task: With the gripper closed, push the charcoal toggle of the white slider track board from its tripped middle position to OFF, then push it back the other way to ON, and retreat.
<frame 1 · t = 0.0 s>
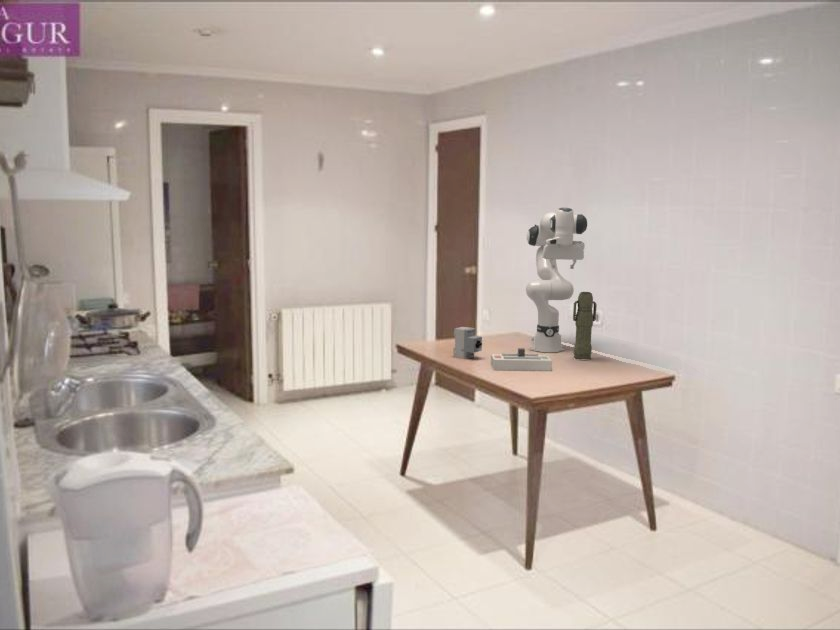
hand: (562, 268, 361), 48 cm above the table, tool pointing down, fingers open, 8 cm apart
circuit breaker: (468, 357, 376), on the table
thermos: (582, 358, 379), on the table
breaker toggle: (521, 352, 354), point 7 cm above the table, slide at 0.0 cm
white slider track board: (520, 367, 355), on the table
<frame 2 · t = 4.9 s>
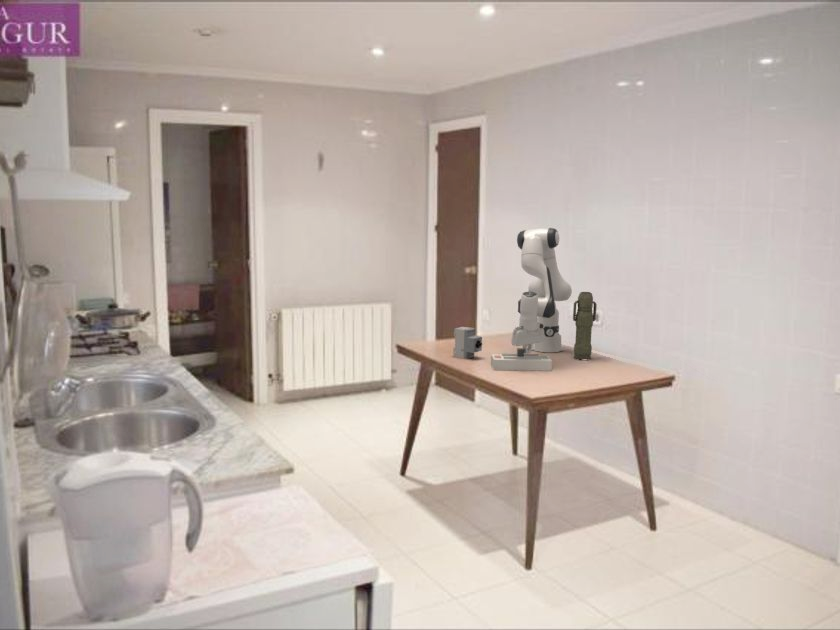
hand: (527, 353, 354), 7 cm above the table, tool pointing down, fingers closed
breaker toggle: (520, 352, 354), point 7 cm above the table, slide at -0.4 cm, touching gripper
everything else where it was.
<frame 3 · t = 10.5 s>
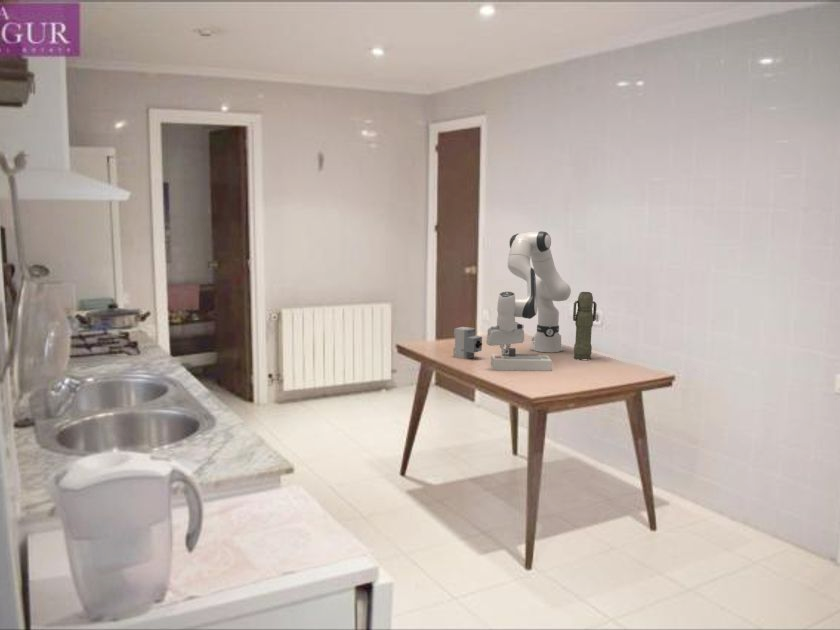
hand: (504, 353, 354), 7 cm above the table, tool pointing down, fingers closed
breaker toggle: (512, 352, 354), point 7 cm above the table, slide at -4.5 cm, touching gripper
everything else where it was.
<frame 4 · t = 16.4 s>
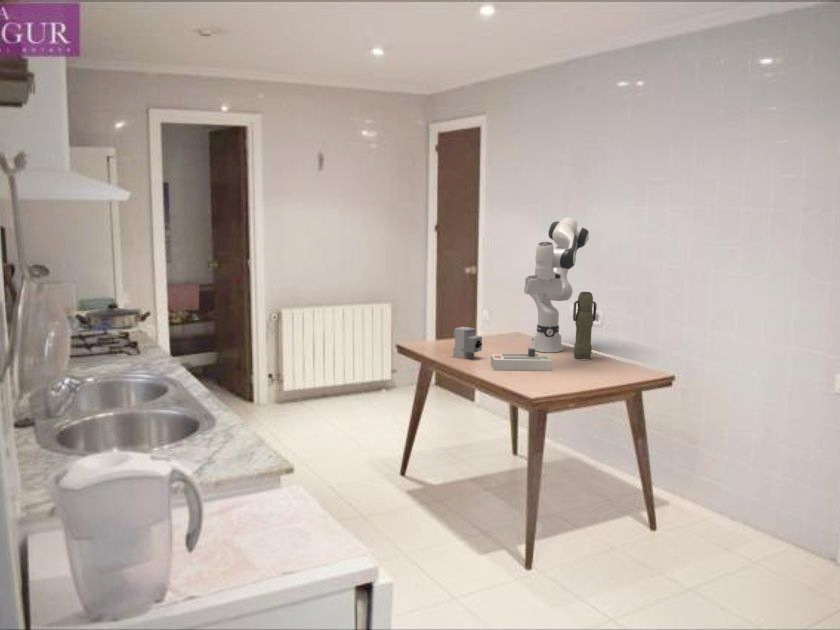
hand: (542, 302, 359), 31 cm above the table, tool pointing down, fingers closed
breaker toggle: (531, 353, 354), point 7 cm above the table, slide at 5.1 cm
everything else where it was.
at the end: breaker toggle slide at 5.1 cm; circuit breaker moved 0.2 cm from its start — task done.
